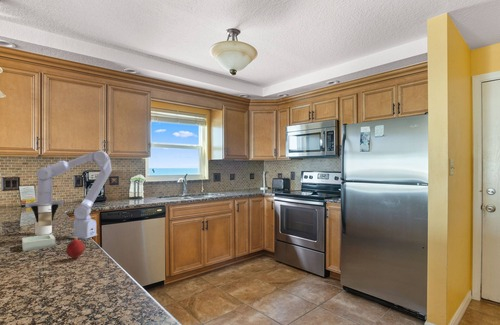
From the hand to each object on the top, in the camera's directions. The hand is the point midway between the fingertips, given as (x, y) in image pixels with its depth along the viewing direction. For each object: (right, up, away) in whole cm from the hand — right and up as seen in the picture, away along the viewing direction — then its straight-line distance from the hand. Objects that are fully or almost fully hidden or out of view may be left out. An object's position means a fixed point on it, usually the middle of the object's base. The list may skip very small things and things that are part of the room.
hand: (44, 221), depth 133 cm
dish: (+6, -9, -11) cm, 15 cm away
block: (0, -2, 0) cm, 2 cm away
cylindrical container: (-10, -9, +13) cm, 19 cm away
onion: (+33, -8, -29) cm, 44 cm away
